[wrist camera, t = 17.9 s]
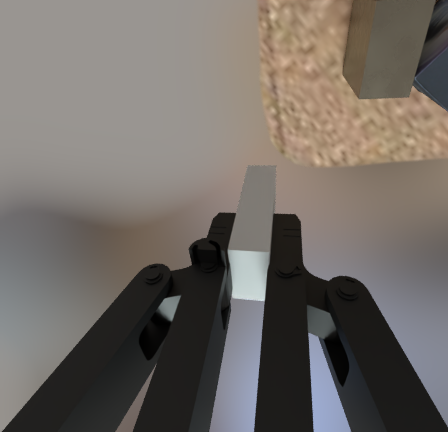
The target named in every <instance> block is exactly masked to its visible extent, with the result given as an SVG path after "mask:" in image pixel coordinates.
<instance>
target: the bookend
mask: <svg viewBox="0 0 448 432" xmlns="http://www.w3.org/2000/svg"><path fill="white" fill-rule="evenodd" d="M435 2H436V0H353V4H352V11H351V18H350V25H349V32H348V39H347V46H346V53H345V60H344V68H343V76H344V78H345V79H346V81H347V82H348V84H349V85H350V87H351V88H352V90H353V91H354V93H355V94H356V96H357V97H358V99H378V98H404V97H409V95H410V92H411V88H412V85H413V81H414V77H415V74H416V70H417V67H418V63H419V59H420V56H421V52H422V49H423V45H424V41H425V38H426V34H427V31H428V27H429V23H430V20H431V16H432V13H433V9H434V5H435Z"/></svg>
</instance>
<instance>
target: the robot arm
mask: <svg viewBox="0 0 448 432" xmlns="http://www.w3.org/2000/svg"><path fill="white" fill-rule="evenodd" d="M275 197H276V166H248V167H247V171H246V175H245V179H244V184H243V188H242V192H241V196H240V200H239V204H238V208H237V213H218V215H217V216H215V217H214V218H213V220H212V224H211V227H210V230H209V233H208V235H207V238H202V239H200V240H197V241H195V242H194V243H193V244H192V245H191V246H190V247H189V253H190V258H191V262H192V265H191V266H189V267H187V268H183V269H179V270H174V271H170V269H169V268H168V267H167V266H165V265H163V264H152V265H149V266H147V267H145V268H143V269H142V270H141V271H140V272H139V273H138V274H137V275H136V276H135V277H134V279H133V280H132V281H131V282H130V283H129V284H128V286H127V287H126V288H125V289H124V290H123V291H122V292H121V294H120V295H119V296H118V297H117V298H116V299H115V301H114V302H113V303H112V304H111V305H110V307H109V308H108V309H107V310H106V311H105V312H104V313H103V315H102V316H101V317H100V318H99V320H97V322H96V323H95V324H94V325H93V326H92V327H91V329H90V330H89V331H88V332H87V333H86V334H85V336H84V337H83V338H82V339H81V340H80V341H79V343H78V344H77V345H76V346H75V347H74V348H73V350H72V351H71V352H70V353H69V354H68V355H67V356H66V358H65V359H64V360H63V361H62V362H61V364H60V365H59V366H58V367H57V368H56V369H55V371H54V372H53V373H52V374H51V375H50V376H49V377H48V379H47V380H46V381H45V382H44V383H43V384H42V386H41V387H40V388H39V389H38V390H37V391H36V393H35V394H34V395H33V396H32V397H31V398H30V400H29V401H28V402H27V403H26V404H25V406H24V407H23V408H22V409H21V410H20V411H19V413H18V414H17V415H16V416H15V417H14V418H13V419H12V421H11V422H10V423H9V424H8V425H7V426H6V428H5V429H4V430H3V431H2V432H115V431H116V430H117V428H118V426H119V425H120V423H121V421H122V419H123V418H124V416H125V415H126V413H127V411H128V410H129V408H130V406H131V405H132V403H133V401H134V400H135V398H136V397H137V395H138V393H139V391H140V390H141V388H142V386H143V385H144V383H145V382H146V380H147V378H148V377H149V375H150V373H151V372H152V370H153V368H154V367H155V365H156V364H157V365H156V368H155V370H154V373H153V376H152V379H151V381H150V384H149V387H148V390H147V393H146V396H145V398H144V401H143V404H142V407H141V410H140V413H139V415H138V418H137V421H136V424H135V427H134V429H133V432H209V429H210V423H211V418H212V413H213V407H214V401H215V396H216V390H217V385H218V379H219V374H220V368H221V363H222V357H223V352H224V346H225V340H226V334H227V329H228V324H229V318H230V313H231V303H230V300H231V294H232V296H233V298H237V299H248V300H259V301H265V305H264V317H263V329H262V342H261V355H260V367H259V378H258V390H257V403H256V416H255V428H254V432H314V431H313V412H312V394H311V376H310V359H309V358H310V357H309V338H308V332H309V333H311V334H313V335H316V336H318V337H319V340H320V343H321V346H322V349H323V352H324V355H325V358H326V360H327V363H328V366H329V369H330V372H331V375H332V377H333V380H334V383H335V386H336V389H337V392H338V395H339V398H340V401H341V403H342V406H343V409H344V412H345V415H346V418H347V420H348V423H349V426H350V429H351V432H448V427H447V425H446V423H445V422H444V420H443V418H442V417H441V415H440V413H439V412H438V410H437V408H436V406H435V405H434V403H433V401H432V400H431V398H430V396H429V394H428V393H427V391H426V389H425V387H424V386H423V384H422V382H421V380H420V379H419V377H418V375H417V373H416V372H415V370H414V368H413V367H412V365H411V363H410V361H409V360H408V358H407V356H406V355H405V353H404V351H403V349H402V348H401V346H400V344H399V343H398V341H397V339H396V338H395V336H394V334H393V332H392V330H391V329H390V327H389V325H388V324H387V322H386V320H385V318H384V317H383V315H382V313H381V311H380V310H379V308H378V306H377V305H376V303H375V301H374V299H373V298H372V296H371V294H370V293H369V291H368V289H367V288H366V287H365V286H364V284H363V283H361V282H360V281H358V280H357V279H355V278H351V277H348V276H338V277H334V278H332V279H331V280H330V281H326V280H323V279H320V278H318V277H315V276H314V275H312V274H311V273H309V272H308V271H307V270H306V268H305V267H304V265H303V257H302V239H301V222H300V220H299V219H298V217H297V216H296V215H295V214H275Z"/></svg>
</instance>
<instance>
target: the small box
mask: <svg viewBox="0 0 448 432" xmlns="http://www.w3.org/2000/svg"><path fill="white" fill-rule="evenodd" d="M413 86H414V87H415V88H416V89H417V90H418V91H419V92H422V93H423V94H425V95H426V96H427V97H429V98H430V99H432V100H433V101H434V102H436V103H437V104H438V105H440V106H441V107H442V108H444V109H445V110H446V111H448V0H439V1H438V2H437V3H436V4H435V5H434V9H433V13H432V16H431V20H430V23H429V27H428V31H427V34H426V38H425V41H424V45H423V49H422V52H421V56H420V59H419V63H418V67H417V70H416V74H415V77H414V81H413Z"/></svg>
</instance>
